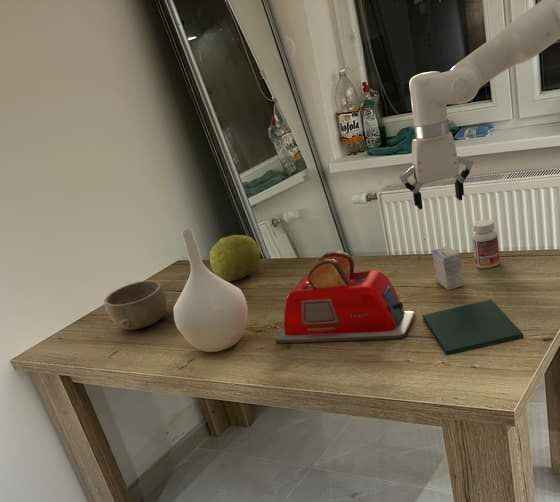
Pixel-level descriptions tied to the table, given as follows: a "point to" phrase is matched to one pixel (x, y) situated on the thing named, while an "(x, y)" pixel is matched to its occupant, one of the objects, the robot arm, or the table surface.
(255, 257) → the fruit
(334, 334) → the toaster
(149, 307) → the bowl
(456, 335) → the mat
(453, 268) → the medicine box
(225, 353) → the table surface
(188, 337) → the vase
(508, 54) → the robot arm
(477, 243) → the pill bottle
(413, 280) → the table surface
